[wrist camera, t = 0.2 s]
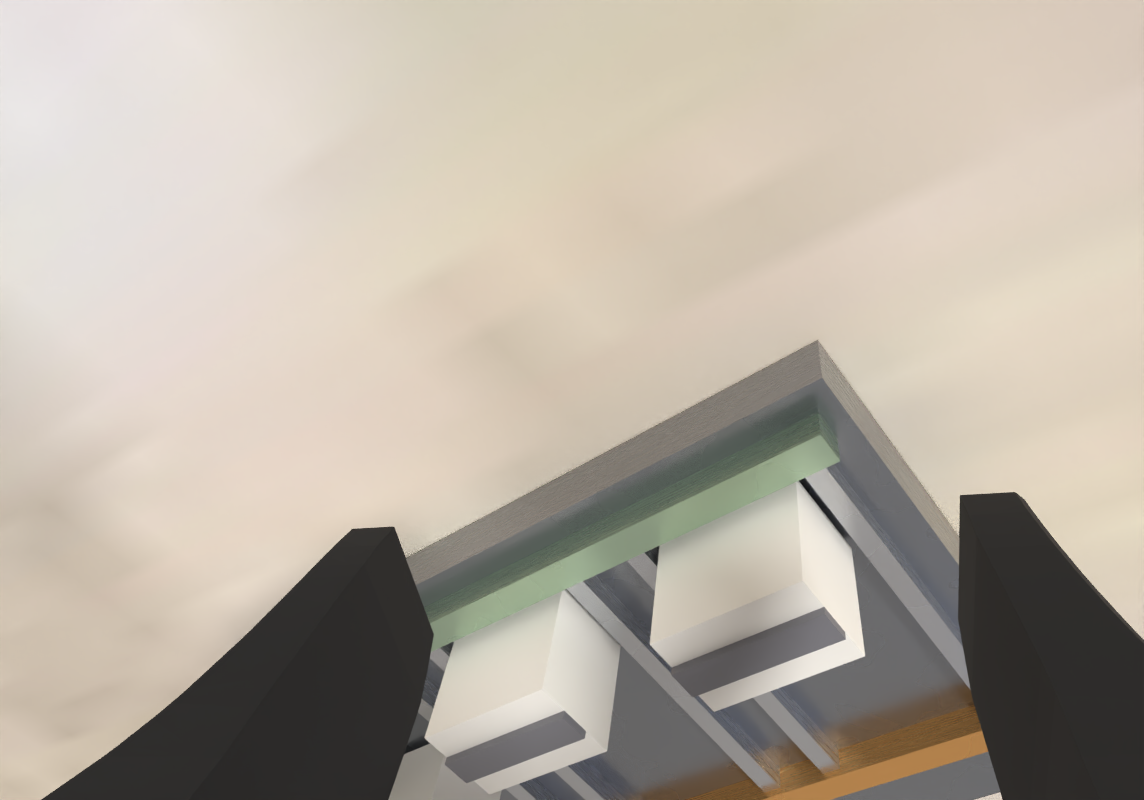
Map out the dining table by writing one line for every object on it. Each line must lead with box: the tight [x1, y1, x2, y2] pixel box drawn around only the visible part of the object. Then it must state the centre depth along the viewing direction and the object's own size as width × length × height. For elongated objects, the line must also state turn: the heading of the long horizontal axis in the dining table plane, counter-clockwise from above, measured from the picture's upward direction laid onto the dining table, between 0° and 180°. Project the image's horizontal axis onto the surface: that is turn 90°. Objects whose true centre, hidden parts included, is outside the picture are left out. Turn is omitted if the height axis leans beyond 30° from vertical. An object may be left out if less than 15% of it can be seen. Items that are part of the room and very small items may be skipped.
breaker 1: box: [425, 589, 621, 794], centre depth 25 cm, size 2×4×3 cm, turn 128°
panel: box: [404, 340, 1000, 800], centre depth 28 cm, size 14×20×2 cm
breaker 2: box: [650, 481, 865, 712], centre depth 22 cm, size 2×4×3 cm, turn 128°
